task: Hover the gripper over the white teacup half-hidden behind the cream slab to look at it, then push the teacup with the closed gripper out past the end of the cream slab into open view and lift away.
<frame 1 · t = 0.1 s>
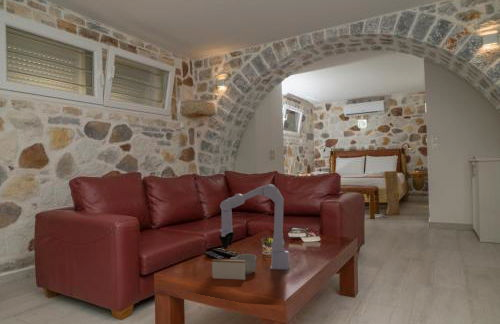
hand: (227, 247, 181), 10 cm above the table, tool pointing down, fingers open, 7 cm apart
cream slab: (228, 278, 160), on the table
teacup: (243, 272, 169), on the table
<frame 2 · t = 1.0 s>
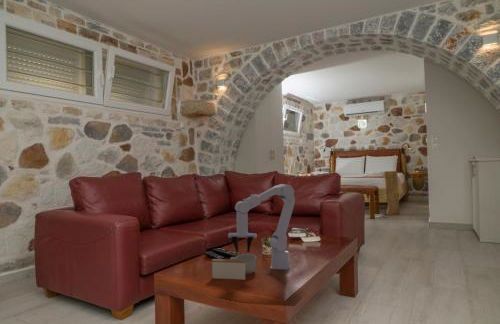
hand: (242, 251, 169), 10 cm above the table, tool pointing down, fingers open, 5 cm apart
nothing on the table moved.
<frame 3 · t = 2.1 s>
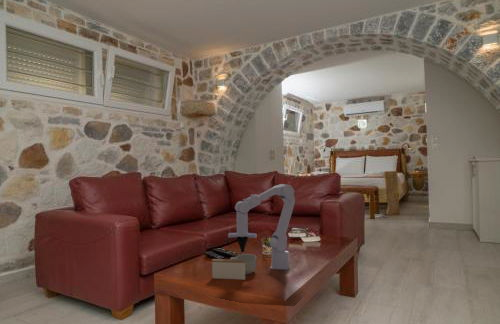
hand: (242, 251, 169), 10 cm above the table, tool pointing down, fingers closed
nothing on the table moved.
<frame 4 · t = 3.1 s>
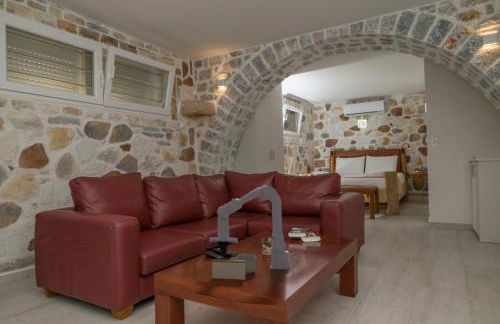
hand: (223, 256, 171), 8 cm above the table, tool pointing down, fingers closed
nothing on the table moved.
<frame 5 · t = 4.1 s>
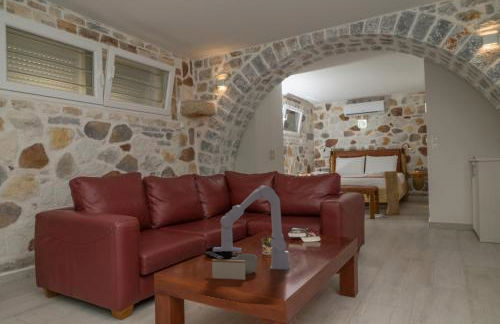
hand: (227, 265, 171), 3 cm above the table, tool pointing down, fingers closed
teacup: (243, 272, 169), on the table, touching gripper
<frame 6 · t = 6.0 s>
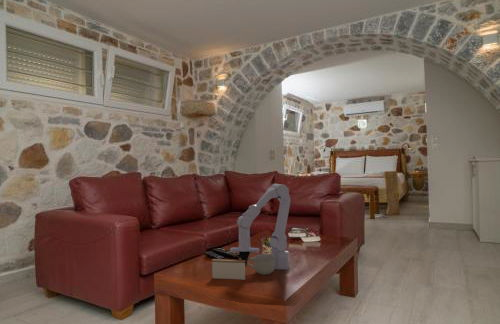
hand: (244, 266, 169), 3 cm above the table, tool pointing down, fingers closed
teacup: (261, 273, 168), on the table, touching gripper
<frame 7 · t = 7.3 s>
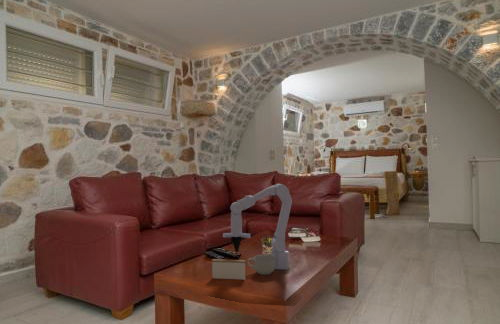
hand: (236, 251, 174), 9 cm above the table, tool pointing down, fingers closed
teacup: (261, 273, 168), on the table
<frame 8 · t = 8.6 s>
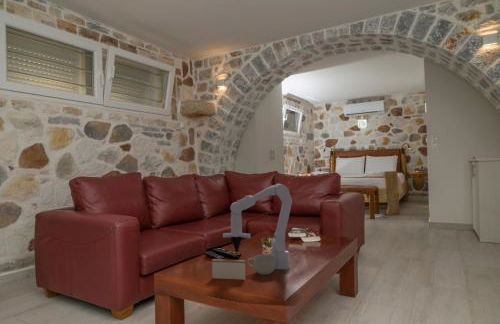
hand: (236, 251, 174), 9 cm above the table, tool pointing down, fingers closed
nothing on the table moved.
at the end: teacup inside the target area (0.1 cm from its centre), on the table; teacup tilted 0°; teacup moved 9.5 cm from its start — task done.
